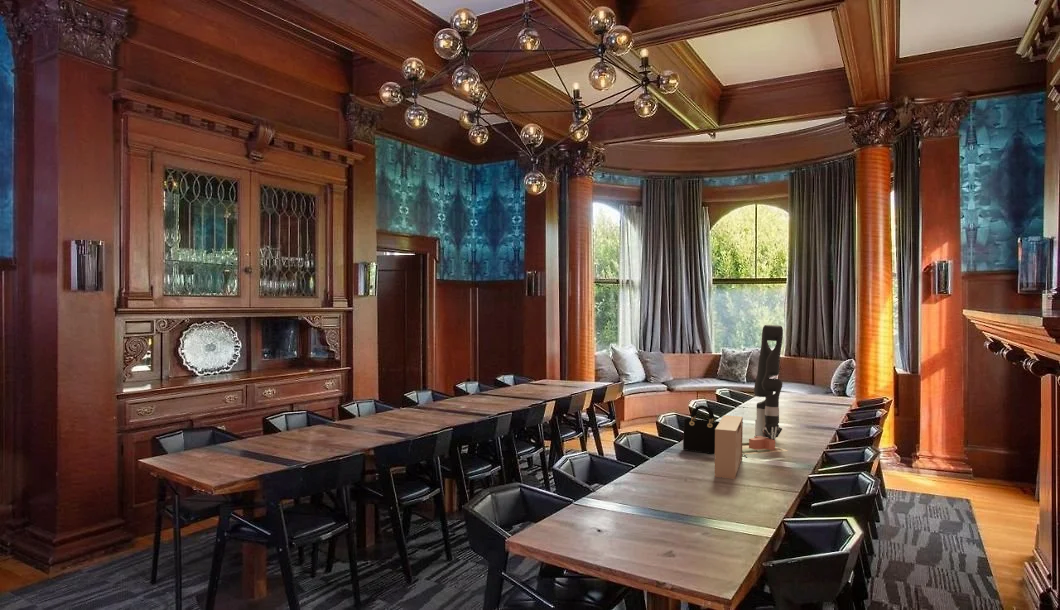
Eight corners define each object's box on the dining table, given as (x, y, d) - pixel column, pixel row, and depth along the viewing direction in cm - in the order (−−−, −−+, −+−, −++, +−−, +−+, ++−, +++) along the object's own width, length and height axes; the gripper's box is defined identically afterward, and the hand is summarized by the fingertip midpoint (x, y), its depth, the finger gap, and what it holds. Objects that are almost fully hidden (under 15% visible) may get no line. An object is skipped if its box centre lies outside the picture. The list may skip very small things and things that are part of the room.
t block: (744, 446, 358) (744, 437, 358) (760, 444, 362) (760, 435, 362) (758, 450, 347) (758, 441, 347) (775, 449, 351) (775, 440, 351)
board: (718, 446, 361) (718, 442, 361) (759, 443, 370) (759, 439, 370) (746, 456, 338) (746, 452, 338) (788, 453, 347) (788, 449, 347)
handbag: (723, 452, 348) (723, 406, 348) (718, 455, 341) (719, 408, 340) (686, 447, 359) (687, 402, 359) (681, 450, 352) (681, 404, 352)
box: (743, 460, 332) (744, 416, 331) (736, 479, 295) (737, 431, 295) (723, 458, 335) (724, 415, 335) (714, 477, 299) (715, 429, 298)
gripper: (776, 412, 363) (776, 442, 363) (757, 413, 358) (757, 444, 358) (786, 414, 356) (786, 445, 356) (767, 416, 351) (766, 447, 351)
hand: (771, 445), depth 357 cm, fingers closed
